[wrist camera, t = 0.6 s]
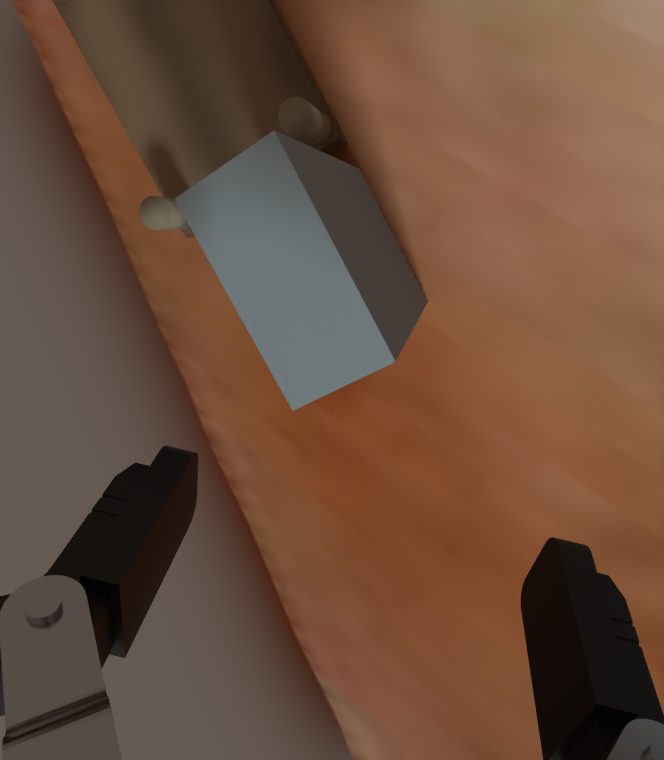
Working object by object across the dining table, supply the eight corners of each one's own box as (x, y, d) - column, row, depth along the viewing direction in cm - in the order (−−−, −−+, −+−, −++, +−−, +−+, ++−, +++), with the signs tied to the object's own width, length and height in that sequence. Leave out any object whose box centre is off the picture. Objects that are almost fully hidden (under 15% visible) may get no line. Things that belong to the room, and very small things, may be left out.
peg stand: (205, -137, 28) (144, -218, 23) (347, 143, 30) (321, 127, 25) (65, -8, 31) (-15, -53, 26) (202, 236, 33) (152, 239, 28)
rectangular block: (360, 169, 30) (274, 129, 17) (427, 301, 31) (395, 361, 18) (298, 207, 31) (174, 198, 18) (365, 333, 32) (292, 410, 19)
